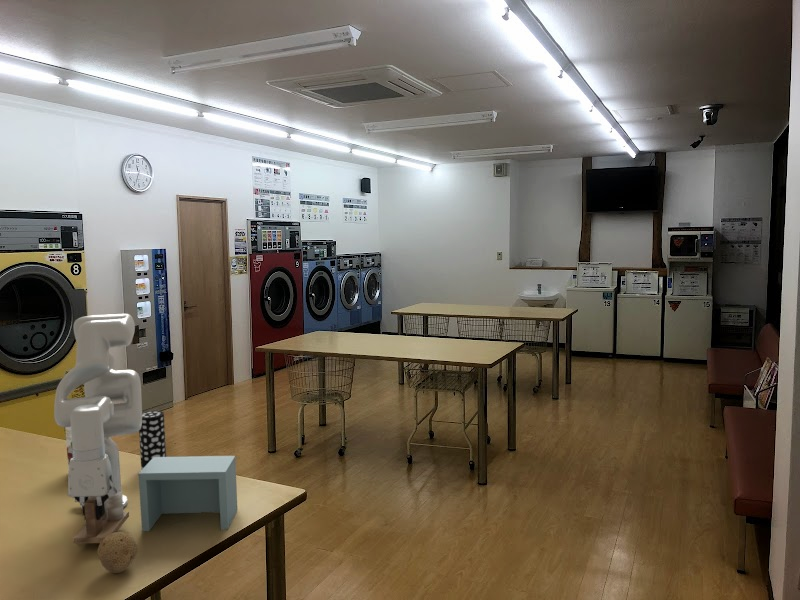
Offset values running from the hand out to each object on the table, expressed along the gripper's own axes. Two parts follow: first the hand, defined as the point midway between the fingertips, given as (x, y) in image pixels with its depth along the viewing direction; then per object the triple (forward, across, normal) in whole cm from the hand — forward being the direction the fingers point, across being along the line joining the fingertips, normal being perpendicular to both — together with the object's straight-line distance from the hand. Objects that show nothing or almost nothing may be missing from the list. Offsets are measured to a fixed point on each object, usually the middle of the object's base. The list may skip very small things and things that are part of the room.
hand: (94, 516), depth 167 cm
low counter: (+8, +21, +13) cm, 27 cm away
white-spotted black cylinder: (+10, -3, +51) cm, 52 cm away
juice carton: (+10, -27, +50) cm, 58 cm away
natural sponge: (+8, +11, -13) cm, 19 cm away
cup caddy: (+6, 0, +4) cm, 7 cm away
